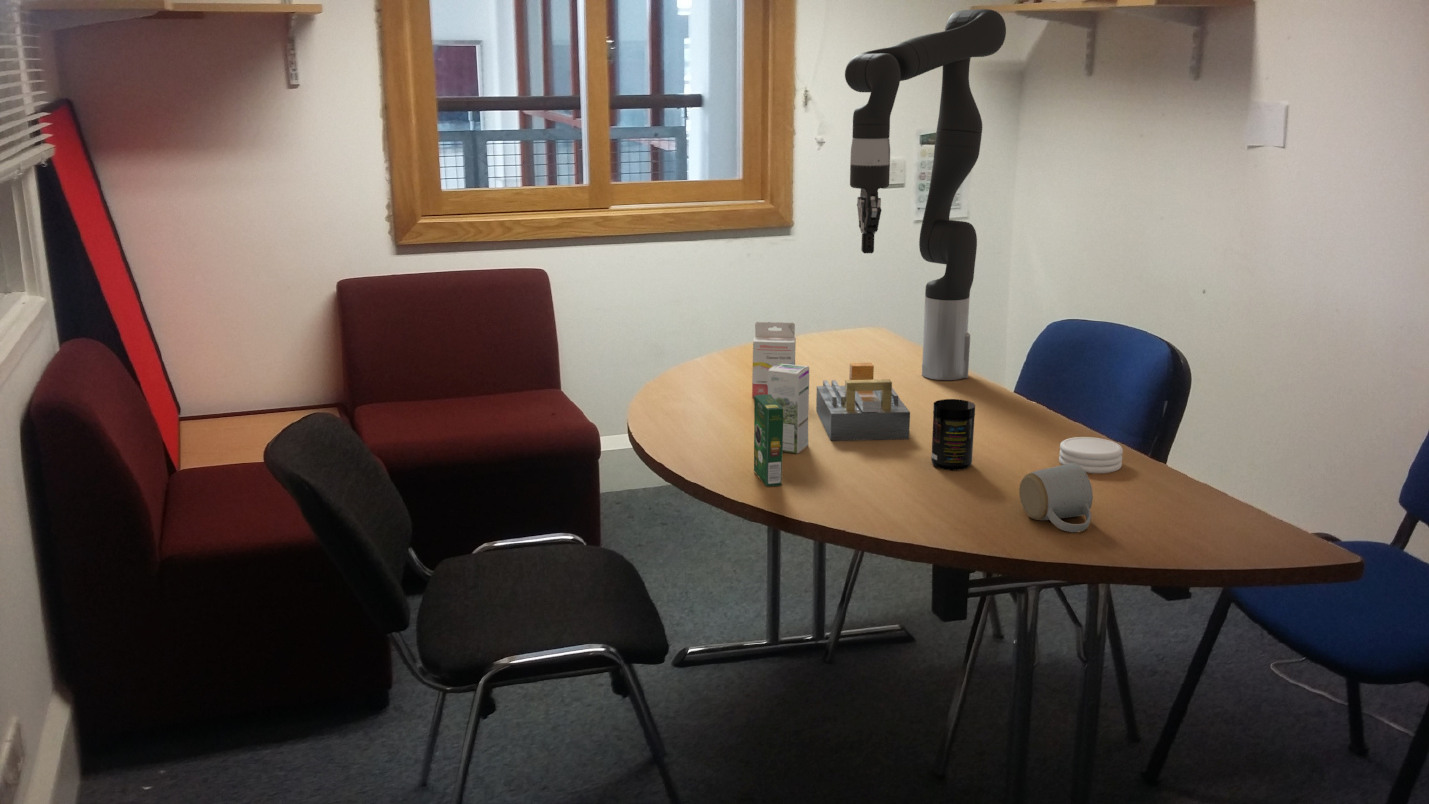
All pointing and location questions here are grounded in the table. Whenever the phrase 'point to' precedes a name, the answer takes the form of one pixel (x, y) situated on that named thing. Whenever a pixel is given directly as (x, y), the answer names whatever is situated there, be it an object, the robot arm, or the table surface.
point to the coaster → (1091, 454)
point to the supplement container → (952, 434)
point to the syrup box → (791, 403)
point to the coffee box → (768, 439)
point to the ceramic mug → (1058, 495)
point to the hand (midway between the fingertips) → (867, 252)
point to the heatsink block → (848, 418)
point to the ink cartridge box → (771, 352)
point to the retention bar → (864, 398)
